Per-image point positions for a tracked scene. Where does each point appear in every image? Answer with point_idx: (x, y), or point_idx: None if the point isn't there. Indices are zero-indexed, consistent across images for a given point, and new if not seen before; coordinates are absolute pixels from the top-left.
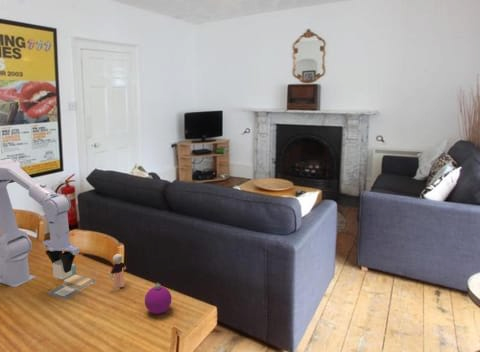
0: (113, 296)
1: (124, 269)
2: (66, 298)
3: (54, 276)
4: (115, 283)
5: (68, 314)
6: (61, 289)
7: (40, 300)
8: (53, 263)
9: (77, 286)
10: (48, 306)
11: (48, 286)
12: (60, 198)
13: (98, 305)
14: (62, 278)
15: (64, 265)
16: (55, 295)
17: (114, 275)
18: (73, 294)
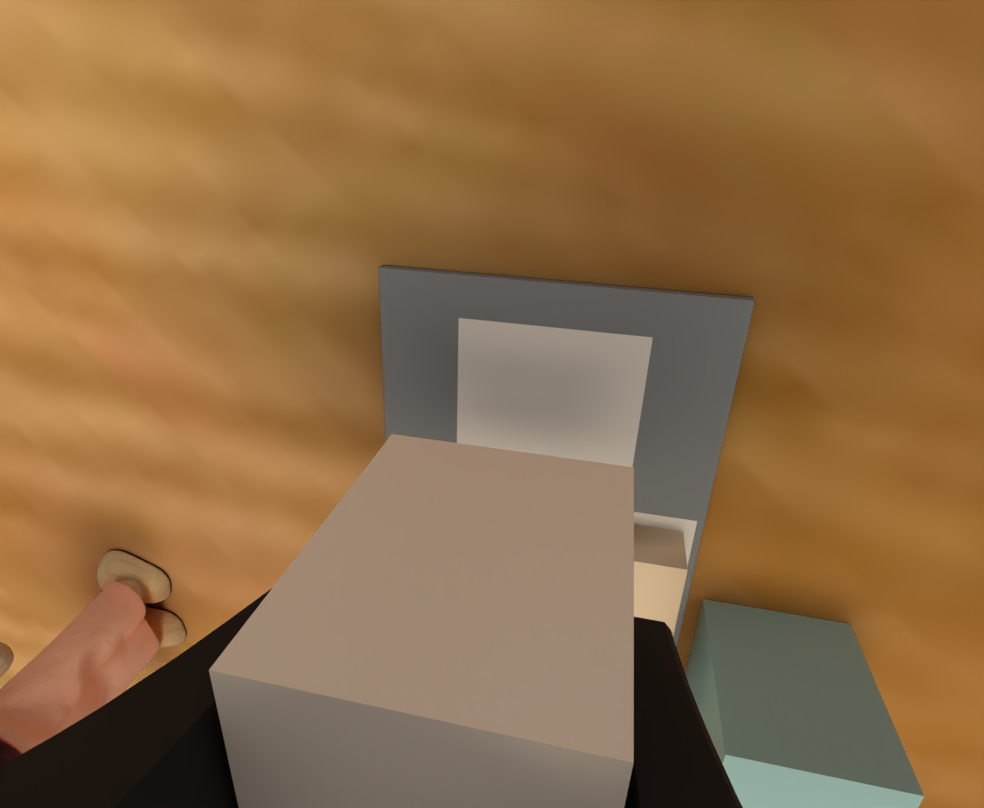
0: (62, 480)
1: None
2: (390, 287)
3: (608, 473)
4: (77, 618)
5: (93, 18)
6: (620, 434)
7: (710, 121)
8: (579, 754)
9: None
10: (466, 45)
11: (879, 457)
12: None
13: (23, 310)
14: (381, 447)
15: (136, 695)
16: (582, 295)
17: (7, 695)
18: (392, 388)
